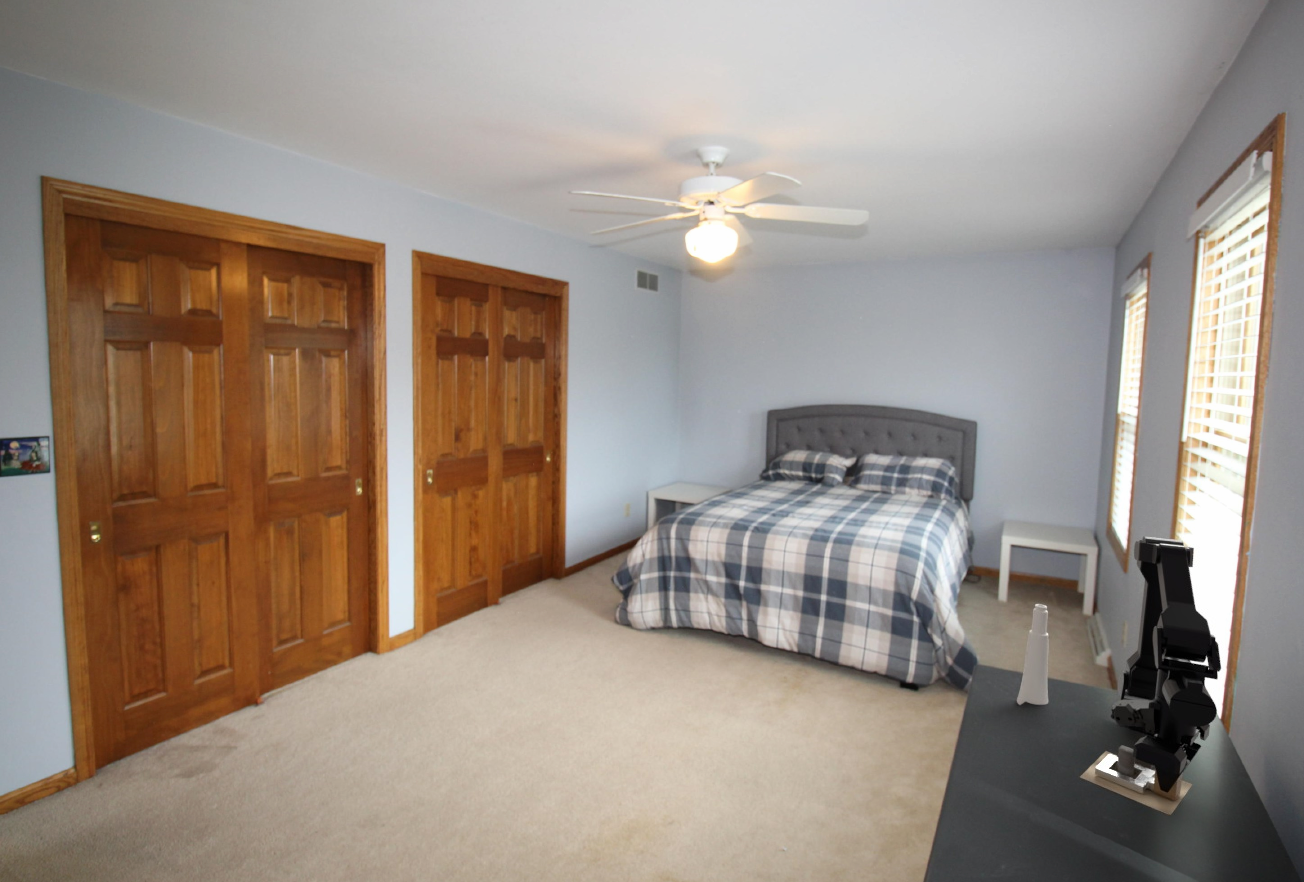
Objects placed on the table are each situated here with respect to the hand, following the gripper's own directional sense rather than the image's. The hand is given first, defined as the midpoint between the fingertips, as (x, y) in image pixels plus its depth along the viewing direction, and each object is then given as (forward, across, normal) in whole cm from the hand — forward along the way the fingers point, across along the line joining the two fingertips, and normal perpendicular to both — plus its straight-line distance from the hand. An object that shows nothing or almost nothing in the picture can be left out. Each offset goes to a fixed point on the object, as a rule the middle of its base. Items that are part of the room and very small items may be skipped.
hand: (1167, 787), depth 116 cm
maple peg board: (+3, 0, -4) cm, 5 cm away
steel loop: (+1, 0, -4) cm, 4 cm away
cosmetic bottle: (+3, -18, -28) cm, 33 cm away
